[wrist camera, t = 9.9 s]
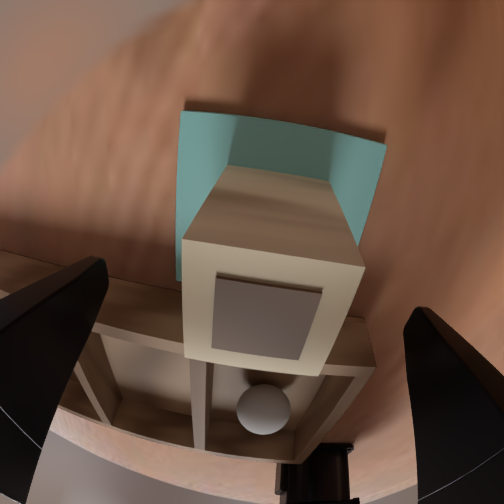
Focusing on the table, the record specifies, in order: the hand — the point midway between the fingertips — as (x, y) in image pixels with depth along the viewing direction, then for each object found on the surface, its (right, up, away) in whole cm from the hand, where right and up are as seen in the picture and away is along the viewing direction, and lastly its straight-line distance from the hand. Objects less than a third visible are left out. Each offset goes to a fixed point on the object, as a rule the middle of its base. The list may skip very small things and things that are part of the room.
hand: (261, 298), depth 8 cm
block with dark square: (+1, +3, +4) cm, 5 cm away
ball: (+1, -8, +11) cm, 13 cm away
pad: (+1, +3, +5) cm, 6 cm away
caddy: (-7, -6, +11) cm, 15 cm away
